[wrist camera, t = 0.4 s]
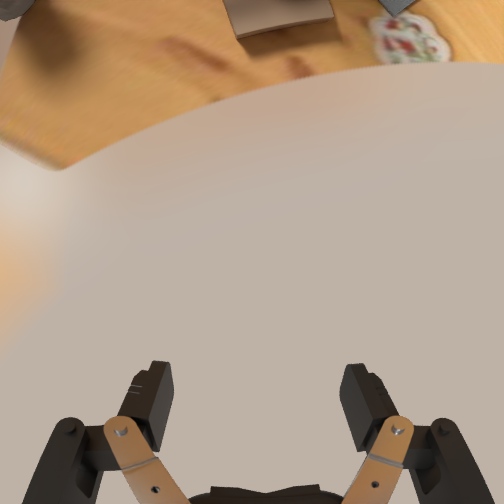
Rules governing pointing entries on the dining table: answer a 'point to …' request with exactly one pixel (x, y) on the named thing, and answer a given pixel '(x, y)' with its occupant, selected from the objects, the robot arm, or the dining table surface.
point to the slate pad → (395, 5)
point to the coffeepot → (14, 8)
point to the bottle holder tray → (274, 14)
